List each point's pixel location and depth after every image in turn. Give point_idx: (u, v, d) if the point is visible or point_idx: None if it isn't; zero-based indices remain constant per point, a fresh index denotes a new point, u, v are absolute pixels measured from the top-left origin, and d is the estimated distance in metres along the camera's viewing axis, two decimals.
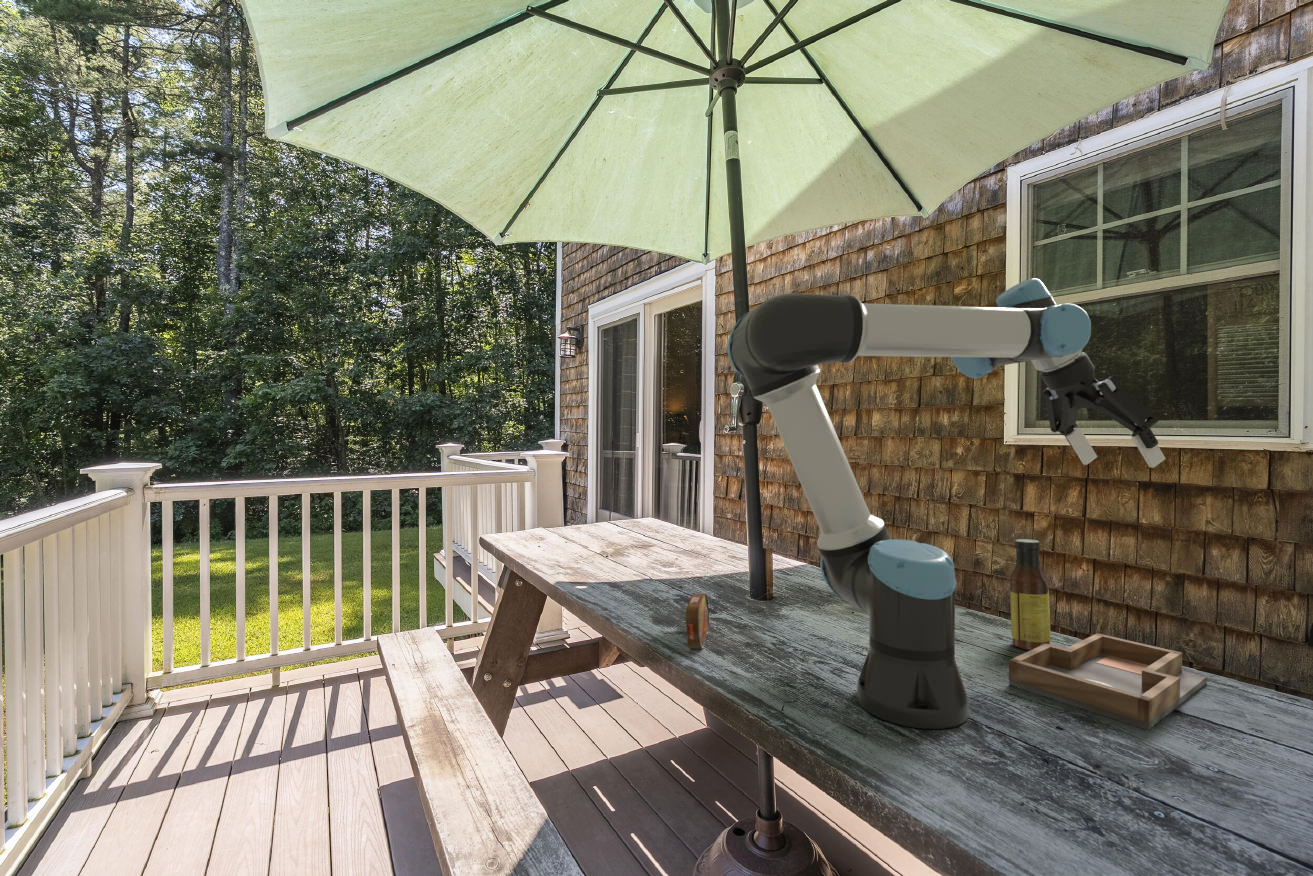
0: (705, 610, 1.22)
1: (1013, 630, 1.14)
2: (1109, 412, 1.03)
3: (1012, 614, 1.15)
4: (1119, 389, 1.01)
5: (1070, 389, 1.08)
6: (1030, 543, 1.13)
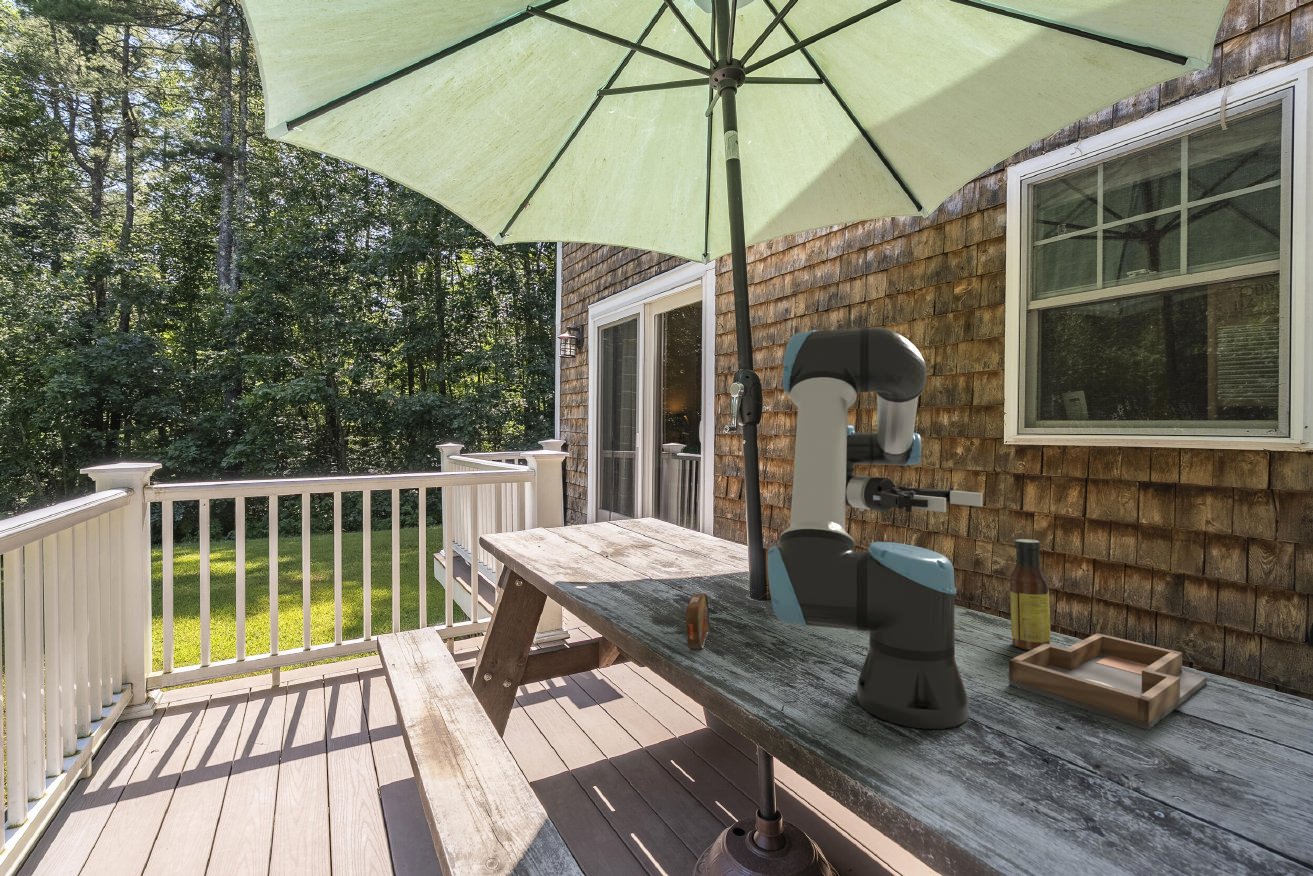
0: (705, 610, 1.22)
1: (1013, 630, 1.14)
2: (926, 490, 1.34)
3: (1012, 614, 1.15)
4: None
5: None
6: (1030, 543, 1.13)
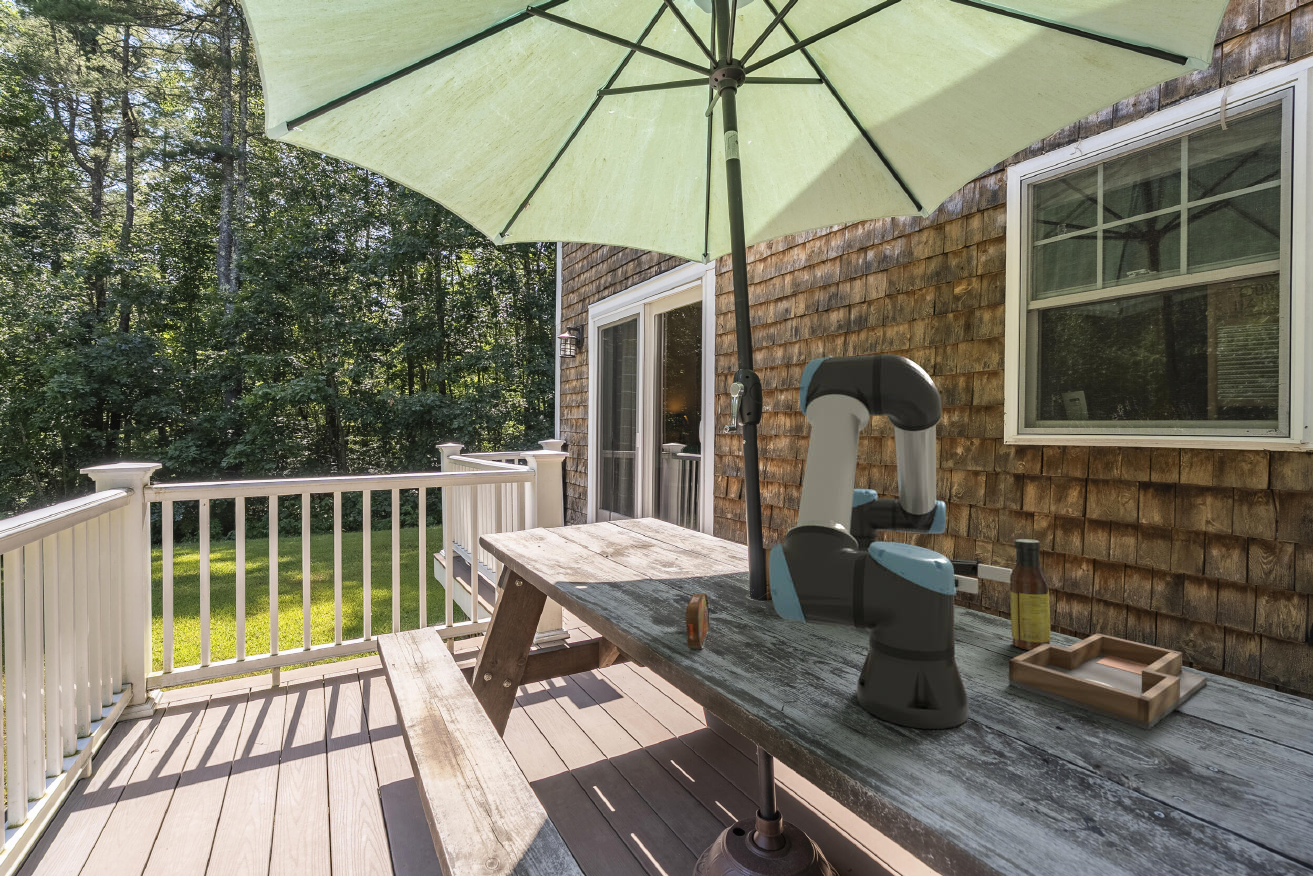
0: (705, 610, 1.22)
1: (1013, 630, 1.14)
2: (953, 562, 1.32)
3: (1012, 614, 1.15)
4: None
5: None
6: (1030, 543, 1.13)
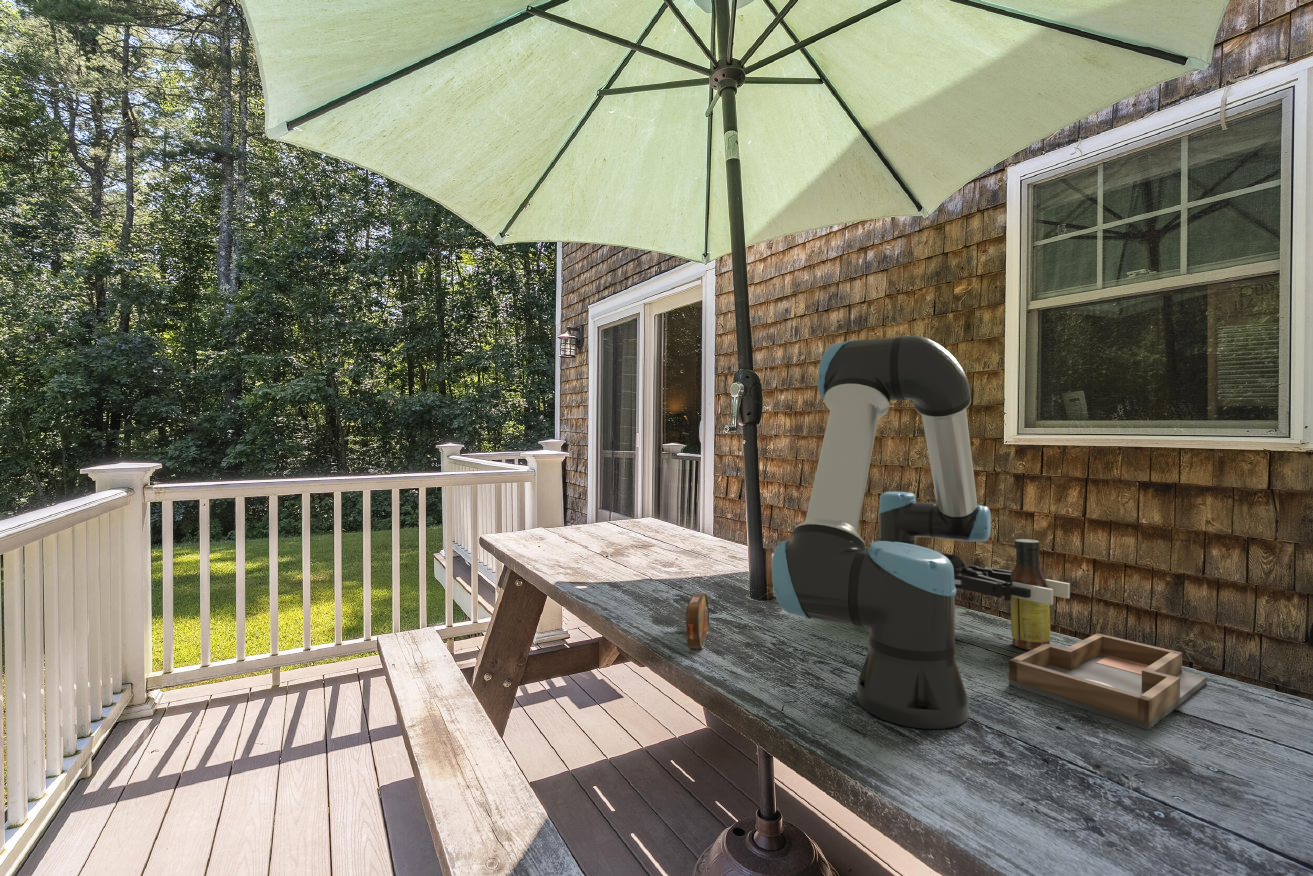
0: (705, 610, 1.22)
1: (1013, 630, 1.14)
2: (1001, 572, 1.21)
3: (1012, 614, 1.15)
4: None
5: (961, 569, 1.24)
6: (1030, 543, 1.13)
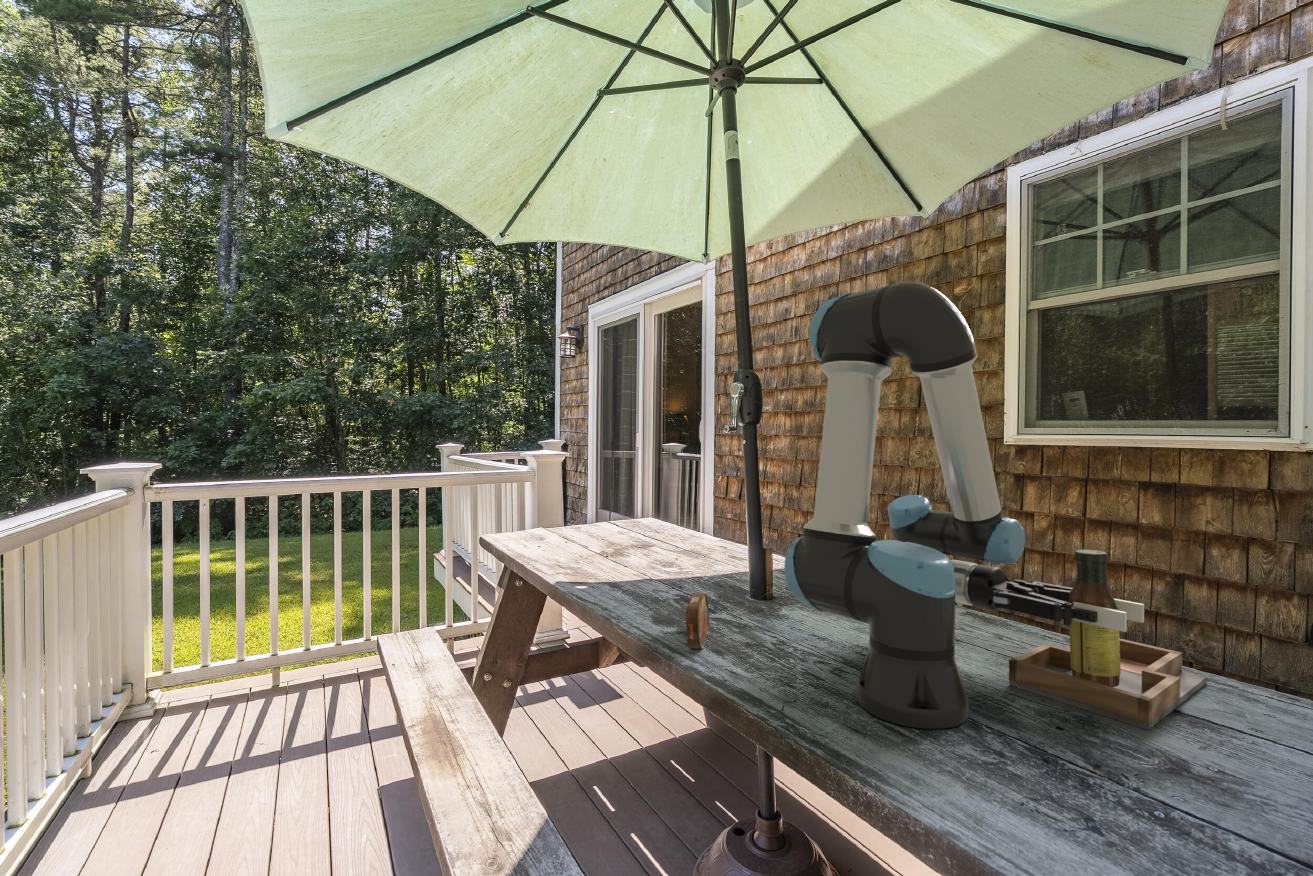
0: (705, 610, 1.22)
1: (1073, 661, 0.94)
2: (1055, 589, 1.01)
3: (1072, 641, 0.94)
4: None
5: (1006, 585, 1.04)
6: (1096, 555, 0.92)
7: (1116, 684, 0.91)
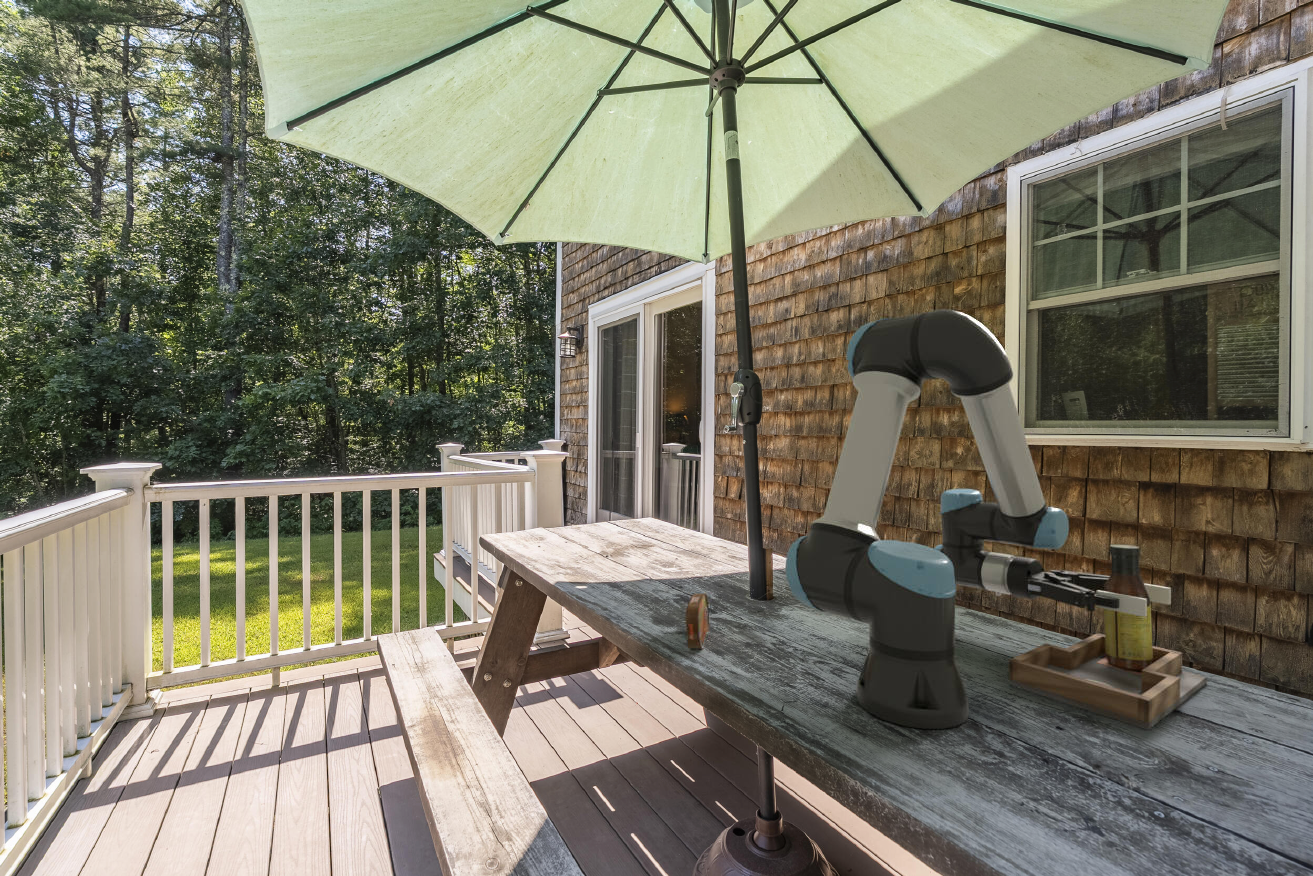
0: (705, 610, 1.22)
1: (1109, 646, 1.02)
2: (1088, 577, 1.10)
3: (1107, 628, 1.02)
4: None
5: (1043, 575, 1.12)
6: (1129, 549, 1.01)
7: None
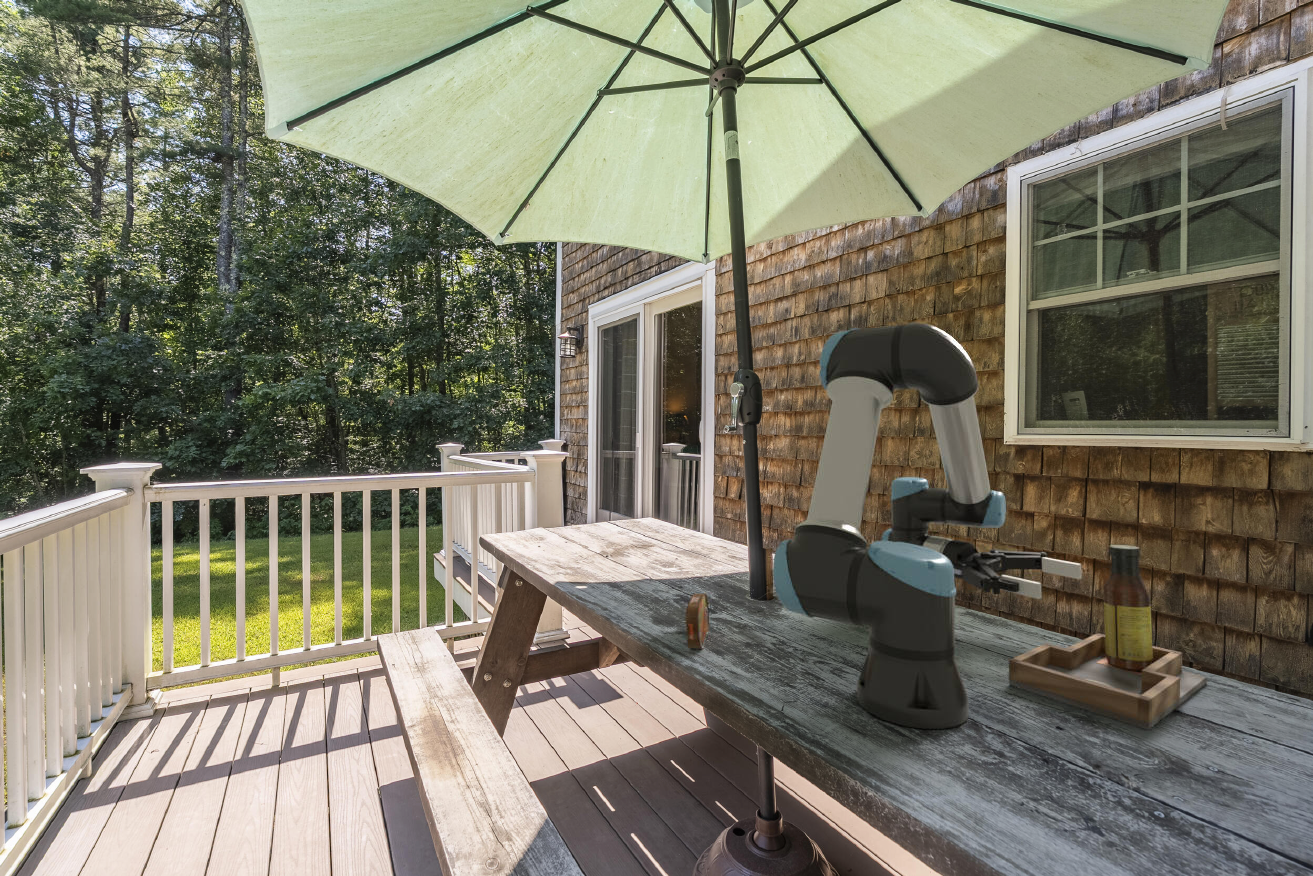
0: (705, 610, 1.22)
1: (1109, 647, 1.02)
2: (1014, 556, 1.20)
3: (1107, 629, 1.02)
4: None
5: None
6: (1129, 549, 1.00)
7: None
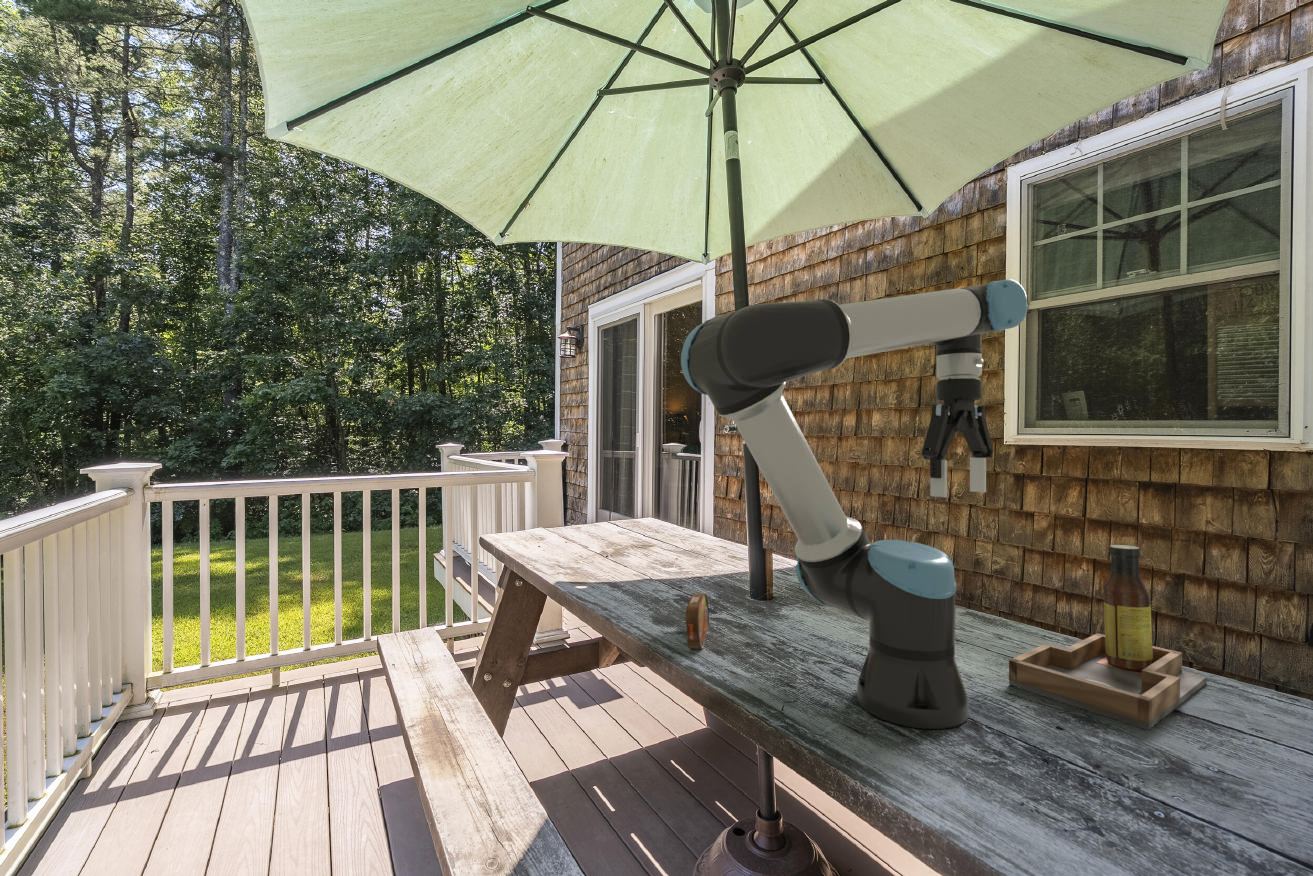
0: (705, 610, 1.22)
1: (1109, 647, 1.02)
2: None
3: (1107, 629, 1.02)
4: (941, 417, 1.08)
5: None
6: (1129, 550, 1.00)
7: None
